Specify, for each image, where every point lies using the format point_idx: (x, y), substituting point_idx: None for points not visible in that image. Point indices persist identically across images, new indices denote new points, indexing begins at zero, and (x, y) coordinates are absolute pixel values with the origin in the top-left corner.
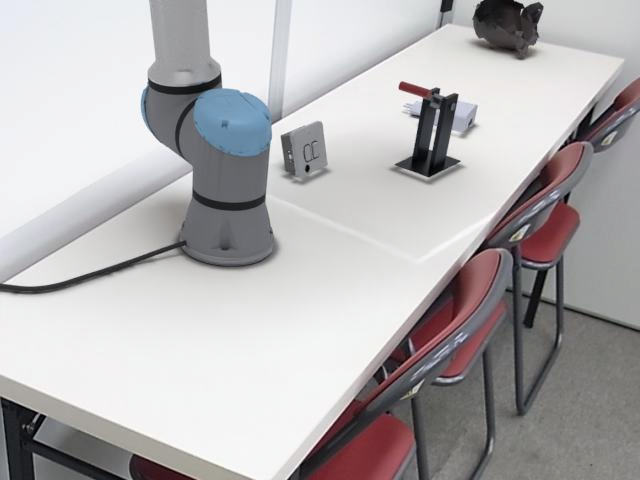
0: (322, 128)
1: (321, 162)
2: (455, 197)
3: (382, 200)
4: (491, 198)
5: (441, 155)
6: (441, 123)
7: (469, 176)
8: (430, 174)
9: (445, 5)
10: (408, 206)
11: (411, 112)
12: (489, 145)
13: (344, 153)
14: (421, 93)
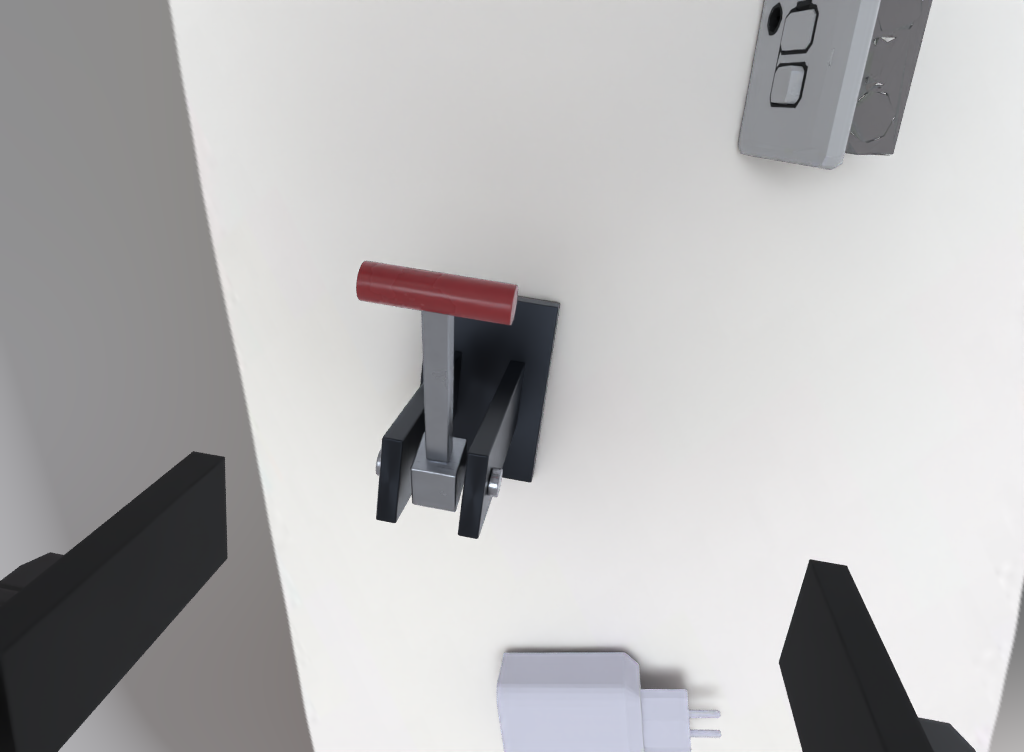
0: (807, 158)
1: (755, 114)
2: (327, 239)
3: (481, 57)
4: (253, 302)
5: None
6: (411, 401)
7: (366, 405)
8: None
9: (163, 480)
10: (399, 74)
11: (680, 689)
12: (422, 636)
13: (748, 322)
14: (391, 265)
